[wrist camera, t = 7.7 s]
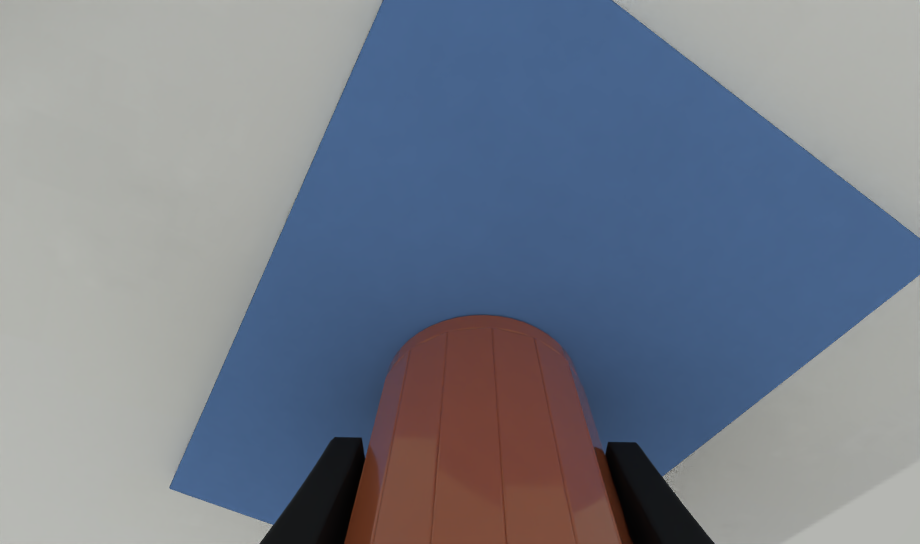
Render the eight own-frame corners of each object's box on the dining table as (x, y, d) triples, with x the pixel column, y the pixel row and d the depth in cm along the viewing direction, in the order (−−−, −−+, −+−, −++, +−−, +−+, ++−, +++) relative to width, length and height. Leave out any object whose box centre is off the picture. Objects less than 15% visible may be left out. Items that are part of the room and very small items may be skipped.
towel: (442, -126, 7) (440, -133, 7) (927, 249, 10) (943, 256, 10) (175, 478, 15) (168, 489, 14) (499, 593, 18) (500, 604, 17)
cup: (607, 421, 13) (781, 918, 5) (447, 479, 14) (423, 936, 7) (525, 280, 10) (638, 795, 3) (346, 364, 12) (158, 857, 5)
